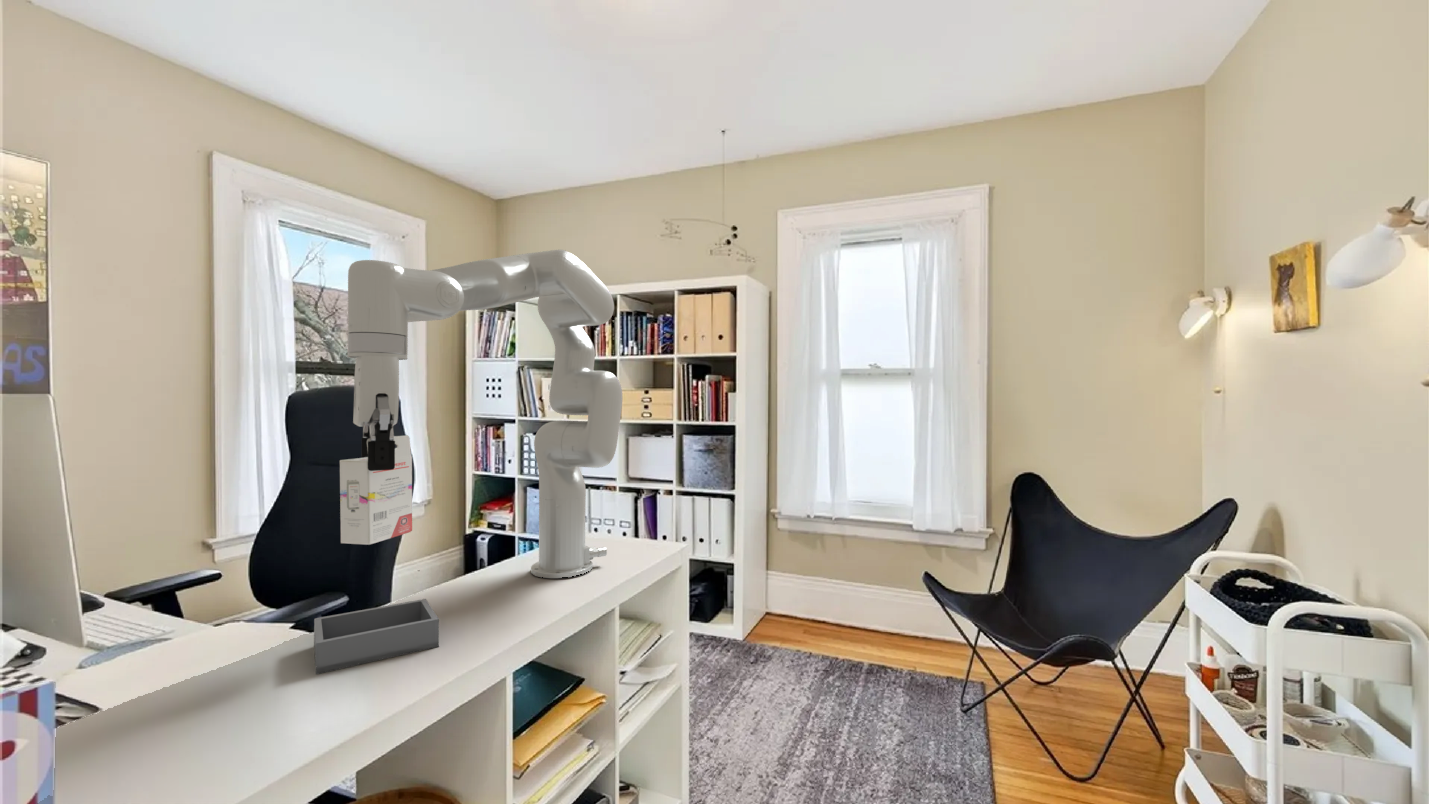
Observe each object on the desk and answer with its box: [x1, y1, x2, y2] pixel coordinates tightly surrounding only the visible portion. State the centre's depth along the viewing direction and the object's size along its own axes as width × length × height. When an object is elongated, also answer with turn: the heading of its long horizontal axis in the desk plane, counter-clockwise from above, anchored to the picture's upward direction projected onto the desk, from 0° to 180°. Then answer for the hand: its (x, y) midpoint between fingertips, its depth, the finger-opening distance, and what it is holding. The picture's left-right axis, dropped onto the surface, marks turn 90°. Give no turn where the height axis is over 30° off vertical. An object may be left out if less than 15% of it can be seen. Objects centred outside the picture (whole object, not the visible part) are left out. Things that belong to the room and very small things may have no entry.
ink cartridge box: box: [339, 434, 413, 546], centre depth 83 cm, size 9×5×15 cm, turn 168°
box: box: [313, 598, 440, 675], centre depth 83 cm, size 15×11×4 cm
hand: (377, 466), depth 83 cm, fingers closed on ink cartridge box, 9 cm apart
